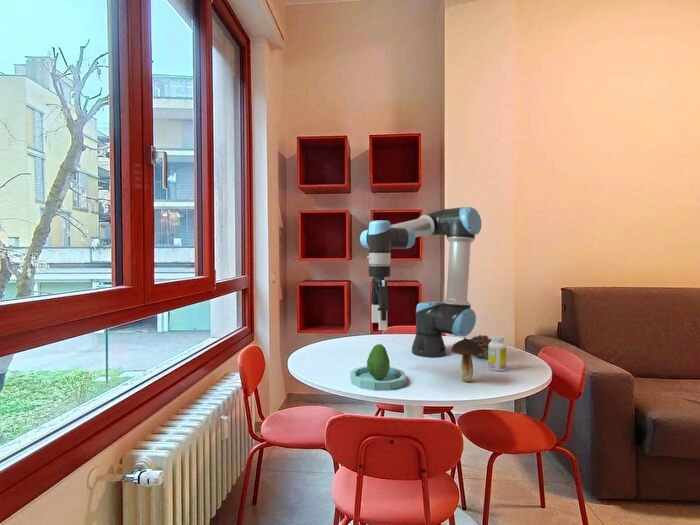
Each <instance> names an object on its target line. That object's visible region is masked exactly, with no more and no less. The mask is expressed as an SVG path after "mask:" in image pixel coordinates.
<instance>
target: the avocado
mask: <svg viewBox="0 0 700 525" xmlns="http://www.w3.org/2000/svg"><path fill="white" fill-rule="evenodd" d="M390 363H391V362H390V358H389V354H388V352H387V349H386V347H385V346H384V345H383V344H382V343H380V344H376V345H374V346H373V347H372V349H371V350H370V353H369V354H368V357H367V360H366V366H367V368H368V371H369V373H370V374H371V375H372V376H373V377H374V378H376V379H383V378H384V377H385V376H386V375H387V374H388V371H389V368H390V367H391V366H390V365H391V364H390Z"/></svg>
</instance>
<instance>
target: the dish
mask: <svg viewBox="0 0 700 525" xmlns="http://www.w3.org/2000/svg"><path fill="white" fill-rule="evenodd" d="M349 381H350V382H351V383H350V384H352V385H353V386H355V385H356V387H358V388H360V389H364V388H366V389H365V390H370V389H371V390H370V391H392V390H396V389H397V390H398V389H400V388H403V387H404V386H405V385H406V383H407V374H406V373H405V372H404V371H403V370H401V369H399V368H395V367H391V366H390V368H389V371H388V374H387V375H386V376H385V377H384V378H383V379H376V378H374V377H373V376H372V375H371V374H370V373H369V371H368V368H367V365H366V366H365V365H364V366H359V367H356V368H354V369H351V371H350V373H349Z"/></svg>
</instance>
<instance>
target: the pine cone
mask: <svg viewBox="0 0 700 525" xmlns="http://www.w3.org/2000/svg"><path fill="white" fill-rule="evenodd" d="M463 339H467V338H466V336H463ZM469 339H470V340H472V341H474V342H476V343H477V344H478V345H480V346H481V348H482V349H483V353H480V354H477V355H475V356H476V357H478V358H479V357H481V358H485V357H487V358H488V344H489V343H490V342H492V340H491V338H489V336H488V335H481V334H479V335H477V336H476V335H474V337H472V338H469Z"/></svg>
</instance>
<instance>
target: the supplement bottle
mask: <svg viewBox="0 0 700 525" xmlns="http://www.w3.org/2000/svg"><path fill="white" fill-rule="evenodd" d="M490 339H491V341H492V342H490V343H489V344H488V357H487V368H488V369H489V370H490V371H494V372H505V371H507V344H506V343H504V340H505V336H503V335H491V336H490Z"/></svg>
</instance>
